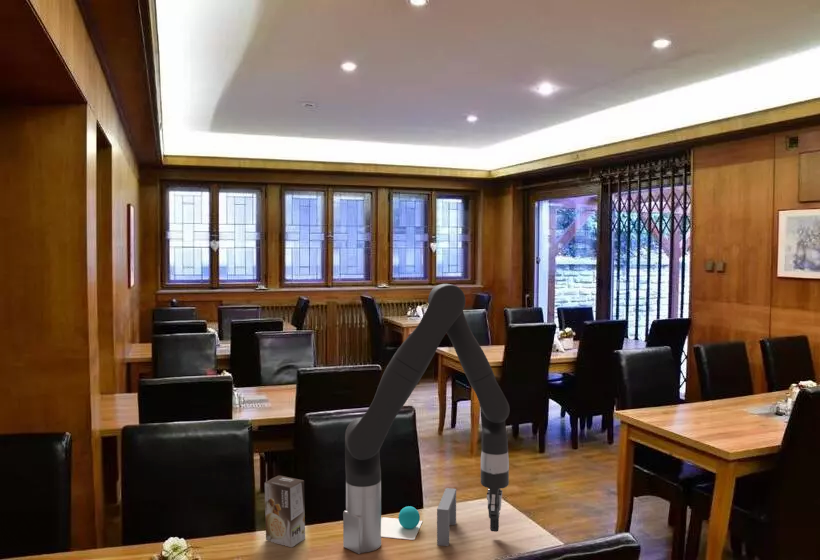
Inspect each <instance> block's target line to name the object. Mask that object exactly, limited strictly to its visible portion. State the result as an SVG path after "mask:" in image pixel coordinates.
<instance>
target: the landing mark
mask: <svg viewBox="0 0 820 560" xmlns="http://www.w3.org/2000/svg"><path fill="white" fill-rule="evenodd" d="M422 524H423V520H419V523H418V525H417V526H416V527H415V528H413V529H406V528H404V527H402V526H401V524H400V523H399V519H398V518H397V517H396V518H394V517H385V516H383V517H382V516H381V538H387V539H396V540H399V539H400V540H405V541H406V540H410V541H415V539H416V537H417V534H418V532H419V531H420V528H421V526H422Z"/></svg>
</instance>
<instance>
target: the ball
mask: <svg viewBox="0 0 820 560" xmlns="http://www.w3.org/2000/svg"><path fill="white" fill-rule="evenodd" d="M419 512H420V511H418V509H416V508H415V507H414V506H411V505H410V506H409V505H408V506H407V505H406V506H405V507H403V508H402V509H400V511H399V513H398V518H397V519H399V523H400V524H401V526H402V527H404V528H406V529H413V528H415V527H416V526H417V525H418V523H419V520H420V518H421V516H420V513H419ZM420 521H421V520H420Z"/></svg>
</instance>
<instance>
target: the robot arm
mask: <svg viewBox="0 0 820 560" xmlns="http://www.w3.org/2000/svg"><path fill="white" fill-rule="evenodd" d="M428 294H429V295H428V299H427V303H428V306H427V308H426V310H425V311H424V313H423V316H422V318H421V319H420V321H419V322H418V324H417V326H416V327H415V329H414V330H413V331H412V332H411V333H410V334H409V335H408V336H407V338H406V339H404V341H403V342H402V343H401V345H400V346H399V347H398V348H397V350H396V351H395V353H394V354H393V356H392V357H391V359H390V360H389V362H388V364H387V366H386V367H385V369H384V371H383V374H382V376H381V379H380V381H379V383H378V385H377V389H376V392H375V395H374V398H373V399H372V402H371V404H370V405H369V407H368V408H367V410H366V411H365V413H364V414H363V416H361V417H357V418H354V419H353V420H351V422H349V423H348V425H347V427H346V429H345V431H344V432H345V433H344V457H345V458H344V462H345V464H344V465H345V510H344V511H343V513H342V517H343V522H342V523H343V525H342V529H343V533H342V534H343V535H342V536H343V543H342V545H343V547H344V548H345V549H348V550H349V551H352V552H354V553H356V554H359V555H360V554H363V553H369V552H373V551H376V550H377V549H378V550H379V548H381V546H382V537H381V518H382V468H381V459H380V450H381V448H382V446H383V445H384V444H383V443H384V442H385V439H386V438H387V435H388V433H389V431H390V428H391V427H392V425H393V423H394V420H395V419H396V417H397V416H398V414H399V412H400V411H401V410H402V409H403V407H404V405H405V404H406V402H407V401H408V400H409V398H410V396H411V395H412V393H413V392H414V390H415V388H416V387H417V385H418V384H419V382H420V380H422V376H423V375H424V374H425V373H426V370H427V368H428V367H429V365H430V363H431V361H432V359H433V358H434V356H435V354H436V352H437V350H438V347H439V346H440V344H441V342H442V340H443V339H444V337H445V336H446V335H447V337H448V338H449V340H450V342H451V344H452V347H453V348H454V351H455V353H456V356H457V358H458V361H459V363H460V366H461V367H462V370H463V371H464V374H465V376H466V378H467V380H468V382H469V385H470V386H471V388H472V389H473V391H474V393H475V396H476V398H477V400H478V403H479V404H480V405H479V406H480V408H479V409H480V410H479V411H480V421H481V422H480V423H481V432H482V433H481V454H480V484H481V486H483V487H485V488H487V492H486V500H487V510H488V518H489V520H490V521H489V523H490V524H489V528H490V531H491V532H495V533H496V532H499V528H500V515H501V512H500V511H501V508H502V497H503V490H502V489H505V488H507V487H509V484H510V483H509V482H510V481H509V479H510V474H509V472H510V462H509V461H510V460H509V458H510V457H509V439H508V436H509V435H508V432H507V428H506V420H507V419H508V418H509V415H510V404H509V402H508V399H507V398H506V396H505V394H504V392H503V391H502V389H501V386H500V385H499V383H498V381H497V380H496V379H497V378H496V376H495V374H494V371H493V369H492V366H491V364H490V362H489V360H488V358H487V356H486V353H485V352H484V350H483V349H482V347H481V345H480V344H479V342H478V340H477V339H476V337H475V336H474V333H473V332H472V330H471V328H470V326H469V323H468V322H467V319H466V316H465V313H464V309H465V307H466V296H465V295H466V294H465V293H464V292H463V289H461V288H460V287H459V286H458V285H456V284H452V283H451V284H450V283H441V284H438V285H435V286H434V287H433V288H432V289H431V291H429V293H428Z"/></svg>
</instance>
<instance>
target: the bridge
mask: <svg viewBox="0 0 820 560" xmlns="http://www.w3.org/2000/svg"><path fill="white" fill-rule="evenodd" d="M456 524H457V488H451V487H450V488H449V487H446V488H445V489H444V491H443V494H442V496H441V499H440V501H439V504H438V506H437V508H436V525H437V526H436V546H443V547H449V545H450V525H452V526H456Z"/></svg>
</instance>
